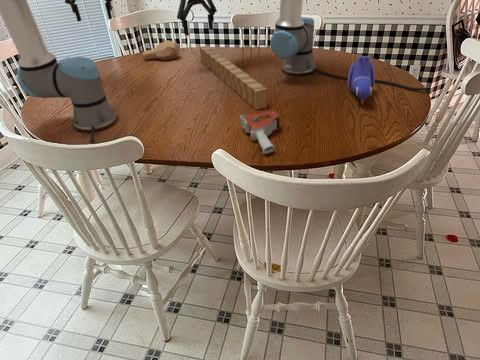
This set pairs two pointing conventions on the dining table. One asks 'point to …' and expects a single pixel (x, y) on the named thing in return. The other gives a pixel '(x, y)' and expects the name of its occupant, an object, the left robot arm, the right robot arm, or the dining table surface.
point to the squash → (163, 51)
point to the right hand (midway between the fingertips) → (199, 32)
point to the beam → (235, 78)
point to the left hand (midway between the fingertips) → (95, 19)
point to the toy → (361, 78)
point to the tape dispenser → (261, 128)
